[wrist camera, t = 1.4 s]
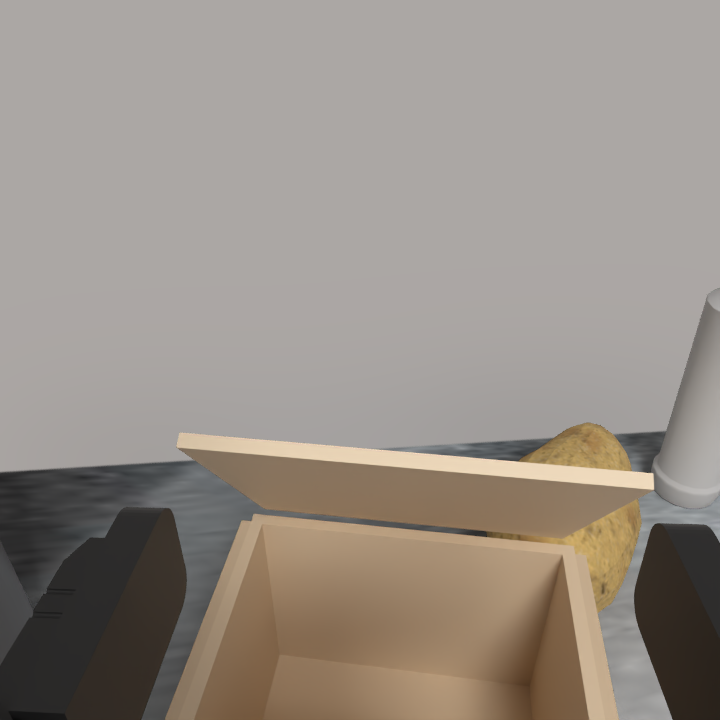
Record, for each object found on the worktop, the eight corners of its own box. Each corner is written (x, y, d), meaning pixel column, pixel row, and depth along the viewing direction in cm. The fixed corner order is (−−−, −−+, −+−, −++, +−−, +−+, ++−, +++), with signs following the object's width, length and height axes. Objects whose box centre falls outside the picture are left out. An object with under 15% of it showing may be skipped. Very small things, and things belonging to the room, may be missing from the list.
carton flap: (176, 447, 21) (179, 432, 21) (264, 509, 33) (266, 499, 33) (654, 489, 19) (653, 473, 19) (562, 538, 31) (562, 528, 31)
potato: (437, 570, 44) (447, 469, 39) (561, 476, 52) (583, 381, 47) (559, 677, 38) (590, 573, 32) (680, 551, 45) (720, 451, 40)
